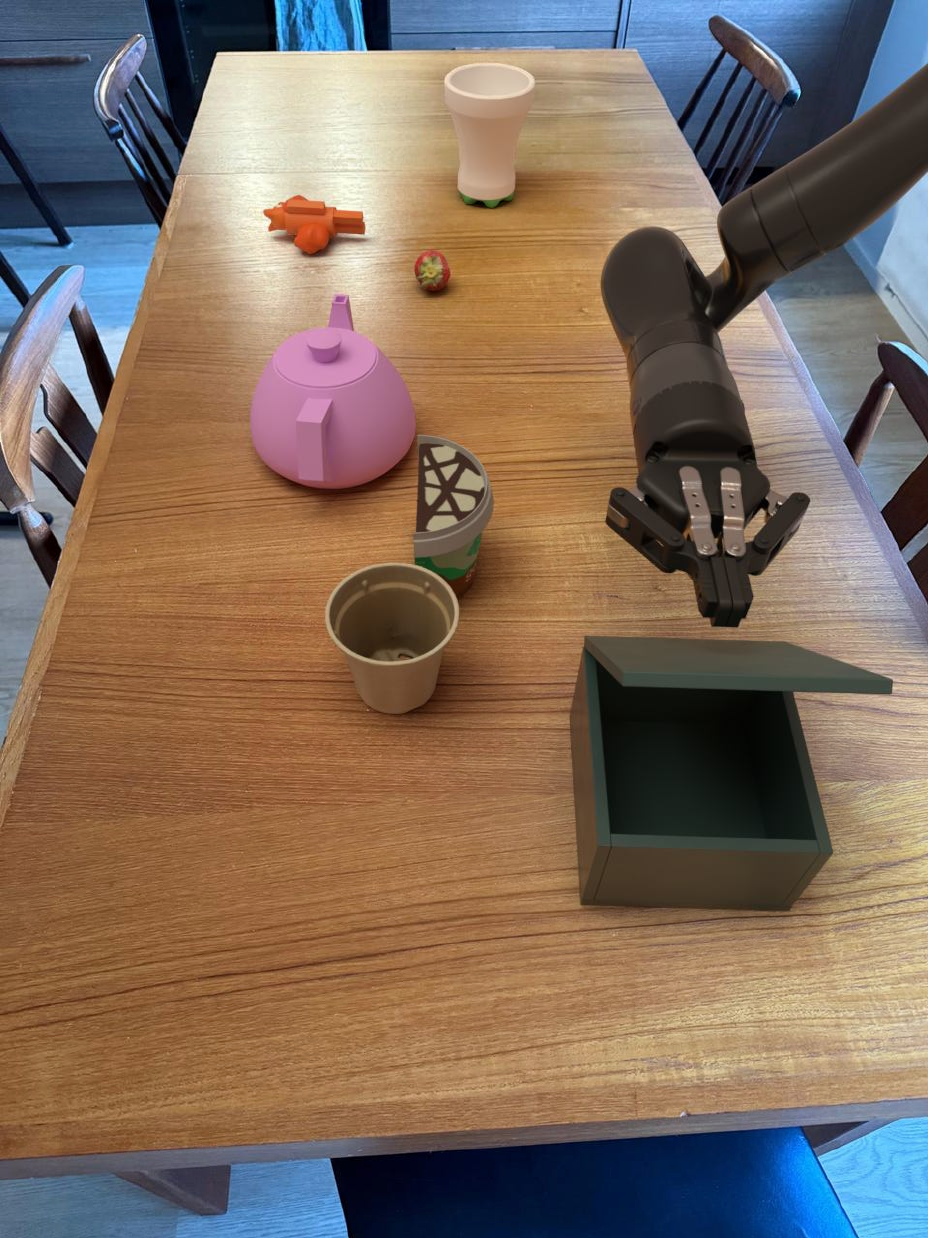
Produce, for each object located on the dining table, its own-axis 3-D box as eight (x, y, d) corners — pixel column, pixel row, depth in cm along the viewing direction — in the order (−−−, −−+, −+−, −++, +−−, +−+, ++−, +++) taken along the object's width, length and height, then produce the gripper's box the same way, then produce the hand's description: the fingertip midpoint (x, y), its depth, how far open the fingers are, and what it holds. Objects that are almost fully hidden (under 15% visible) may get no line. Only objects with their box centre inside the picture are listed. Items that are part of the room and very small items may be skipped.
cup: (544, 197, 120) (554, 81, 109) (484, 224, 115) (488, 105, 104) (487, 168, 125) (491, 54, 114) (427, 193, 120) (425, 76, 109)
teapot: (407, 527, 80) (402, 418, 71) (234, 520, 80) (206, 411, 71) (424, 378, 94) (421, 272, 85) (276, 373, 94) (257, 266, 85)
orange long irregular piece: (364, 189, 108) (266, 184, 109) (355, 238, 106) (255, 232, 106) (368, 221, 113) (275, 216, 114) (361, 268, 110) (265, 262, 111)
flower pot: (449, 628, 73) (450, 555, 66) (466, 726, 67) (468, 657, 60) (333, 640, 72) (321, 567, 65) (339, 740, 66) (328, 671, 59)
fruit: (453, 274, 107) (454, 234, 103) (447, 301, 104) (448, 260, 100) (418, 271, 108) (417, 231, 104) (411, 299, 104) (410, 258, 100)
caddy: (788, 911, 58) (834, 853, 52) (580, 905, 58) (597, 845, 52) (749, 721, 68) (783, 651, 61) (569, 716, 68) (583, 645, 61)
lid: (892, 694, 45) (893, 679, 45) (622, 686, 45) (623, 670, 45) (785, 653, 60) (785, 641, 60) (583, 647, 61) (584, 635, 60)
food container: (491, 625, 73) (497, 539, 65) (416, 624, 73) (413, 538, 65) (488, 519, 81) (492, 431, 73) (420, 518, 81) (417, 430, 73)
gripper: (768, 468, 64) (824, 661, 53) (585, 463, 65) (602, 655, 53) (800, 380, 59) (870, 577, 48) (598, 375, 59) (621, 570, 48)
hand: (728, 618), depth 51 cm, fingers closed
